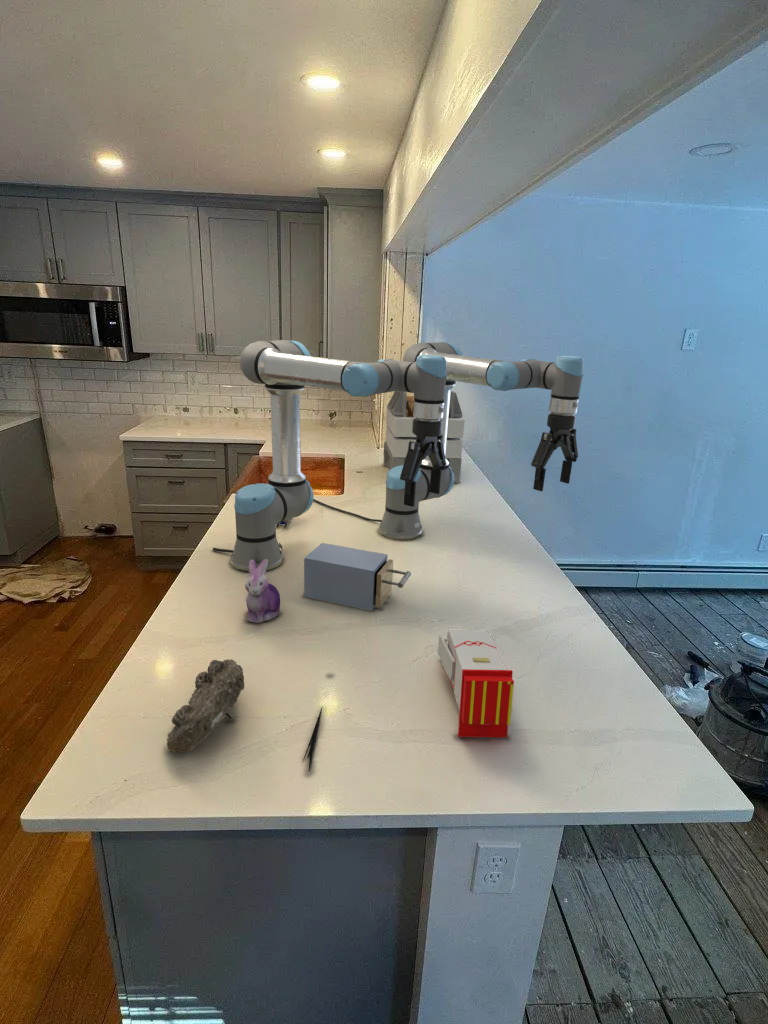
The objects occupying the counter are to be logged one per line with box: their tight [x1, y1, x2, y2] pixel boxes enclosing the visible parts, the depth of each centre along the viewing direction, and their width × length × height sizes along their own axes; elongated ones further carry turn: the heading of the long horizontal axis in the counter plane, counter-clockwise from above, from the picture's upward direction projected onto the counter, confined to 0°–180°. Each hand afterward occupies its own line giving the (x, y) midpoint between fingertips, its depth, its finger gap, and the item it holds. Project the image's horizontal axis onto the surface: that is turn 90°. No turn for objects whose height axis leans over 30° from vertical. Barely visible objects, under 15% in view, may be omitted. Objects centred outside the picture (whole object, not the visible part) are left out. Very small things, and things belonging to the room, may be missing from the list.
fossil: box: [166, 658, 245, 754], centre depth 106 cm, size 22×10×15 cm
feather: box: [301, 673, 332, 771], centre depth 108 cm, size 2×28×2 cm
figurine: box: [244, 559, 282, 624], centre depth 141 cm, size 9×10×15 cm
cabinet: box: [303, 542, 389, 612], centre depth 154 cm, size 20×11×12 cm, turn 71°
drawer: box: [374, 558, 412, 608], centre depth 153 cm, size 24×10×10 cm, turn 71°
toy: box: [437, 628, 515, 738], centre depth 117 cm, size 12×13×30 cm
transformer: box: [383, 390, 465, 484], centre depth 268 cm, size 34×33×41 cm
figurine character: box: [276, 518, 293, 529], centre depth 204 cm, size 7×8×15 cm
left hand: (422, 499), depth 150 cm, fingers open, 13 cm apart
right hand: (551, 486), depth 165 cm, fingers open, 13 cm apart
